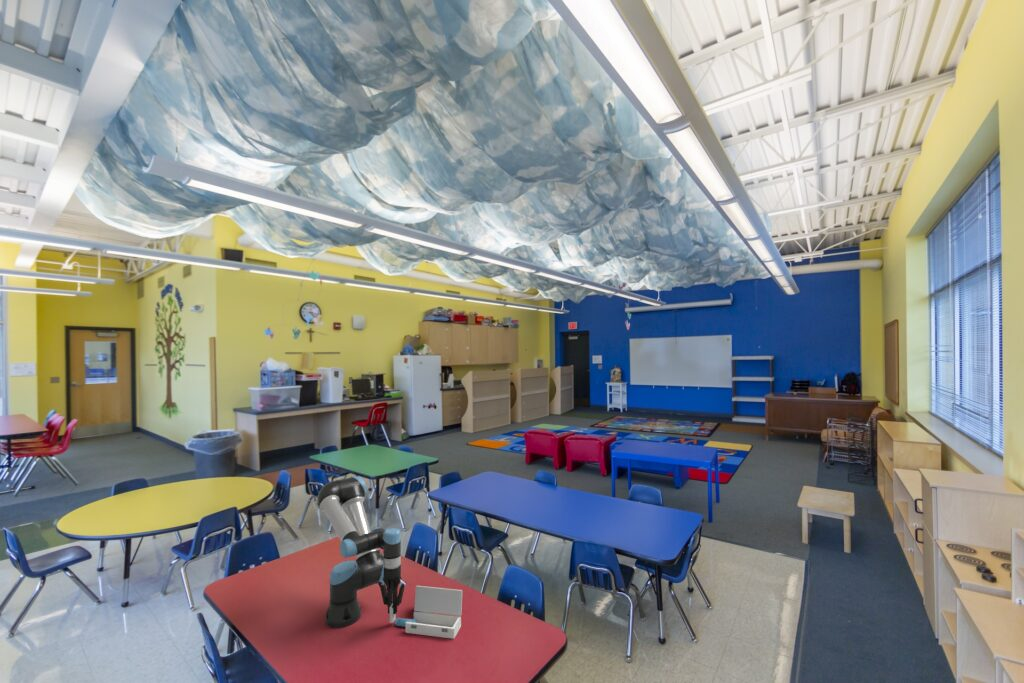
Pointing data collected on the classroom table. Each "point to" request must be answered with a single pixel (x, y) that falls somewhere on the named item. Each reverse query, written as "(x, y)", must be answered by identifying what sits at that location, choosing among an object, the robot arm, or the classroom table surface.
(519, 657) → the classroom table surface
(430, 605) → the cover
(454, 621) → the white latched case
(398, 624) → the blue pill shape
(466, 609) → the classroom table surface
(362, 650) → the classroom table surface
